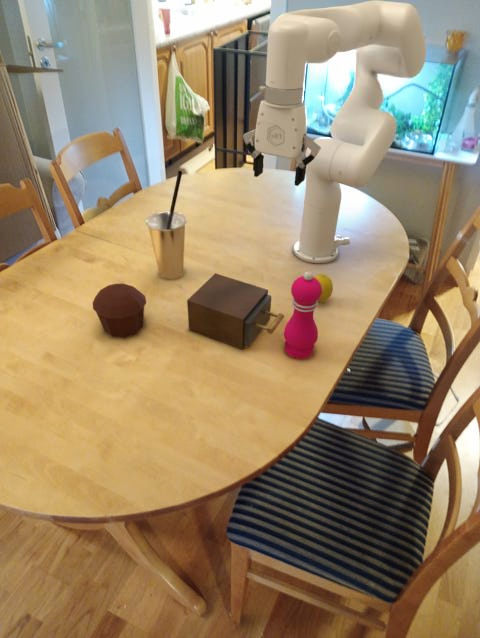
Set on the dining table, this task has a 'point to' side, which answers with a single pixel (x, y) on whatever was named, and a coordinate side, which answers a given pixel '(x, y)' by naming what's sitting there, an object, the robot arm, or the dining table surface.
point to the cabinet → (223, 309)
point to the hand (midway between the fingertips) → (278, 179)
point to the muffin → (120, 309)
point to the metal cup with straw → (168, 238)
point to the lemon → (325, 287)
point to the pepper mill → (303, 317)
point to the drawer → (260, 321)
